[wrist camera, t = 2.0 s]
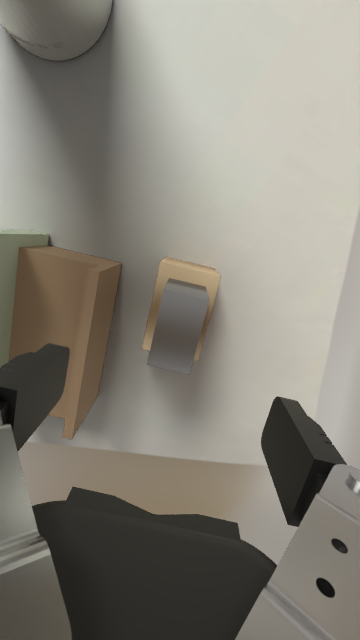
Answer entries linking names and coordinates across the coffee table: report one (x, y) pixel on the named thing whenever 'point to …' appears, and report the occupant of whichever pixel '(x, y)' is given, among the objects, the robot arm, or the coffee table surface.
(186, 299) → the cabinet block
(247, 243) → the coffee table surface
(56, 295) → the wall board
